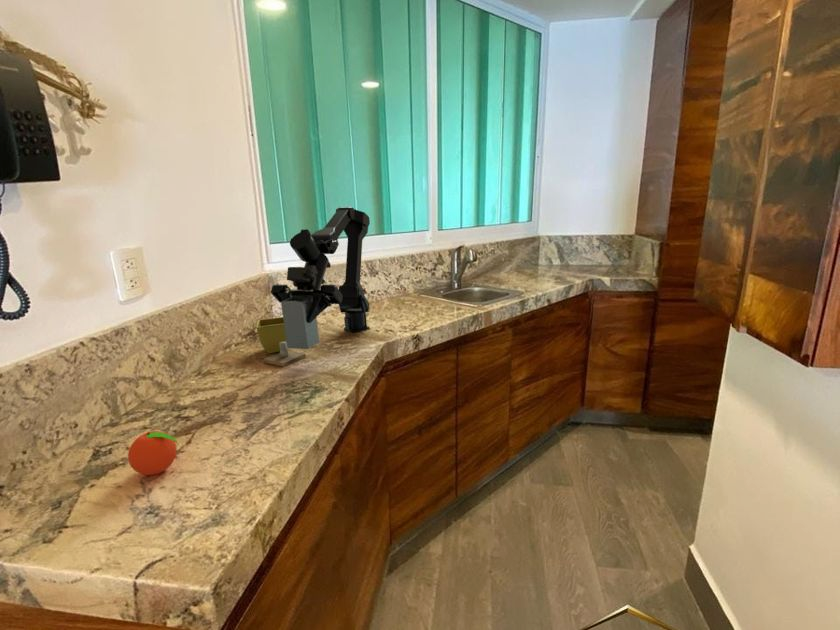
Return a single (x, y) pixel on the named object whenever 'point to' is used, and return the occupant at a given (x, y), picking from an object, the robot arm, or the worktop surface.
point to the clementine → (152, 453)
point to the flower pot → (271, 333)
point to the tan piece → (284, 356)
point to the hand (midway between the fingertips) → (297, 321)
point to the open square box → (299, 322)
